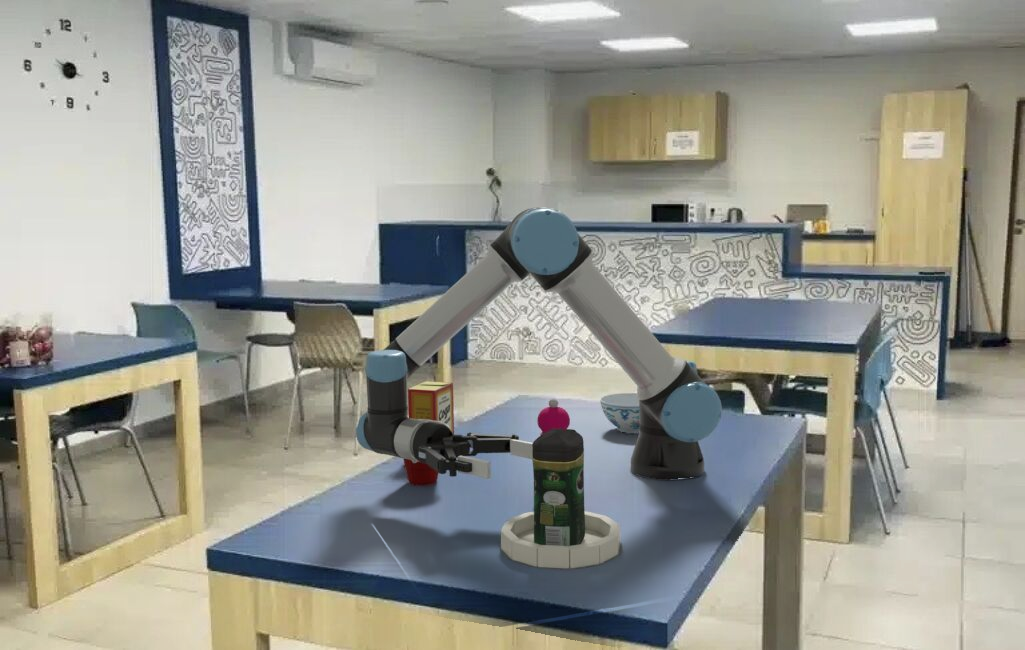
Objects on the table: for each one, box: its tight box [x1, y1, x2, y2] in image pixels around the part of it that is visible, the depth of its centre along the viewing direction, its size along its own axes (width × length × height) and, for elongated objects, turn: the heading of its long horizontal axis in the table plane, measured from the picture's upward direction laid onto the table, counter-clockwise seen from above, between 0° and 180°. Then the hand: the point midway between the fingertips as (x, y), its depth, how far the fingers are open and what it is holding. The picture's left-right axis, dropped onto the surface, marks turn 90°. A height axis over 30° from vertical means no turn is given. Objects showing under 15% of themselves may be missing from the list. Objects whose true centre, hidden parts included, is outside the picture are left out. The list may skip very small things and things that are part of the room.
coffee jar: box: [531, 428, 586, 546], centre depth 159 cm, size 10×8×19 cm
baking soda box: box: [407, 380, 455, 435], centre depth 218 cm, size 10×6×16 cm
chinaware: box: [599, 392, 639, 434], centre depth 238 cm, size 15×15×8 cm
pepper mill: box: [537, 398, 571, 436], centre depth 182 cm, size 7×7×20 cm
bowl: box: [500, 510, 621, 570], centre depth 160 cm, size 19×19×3 cm
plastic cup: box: [402, 419, 449, 487], centre depth 198 cm, size 11×11×12 cm
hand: (515, 461), depth 165 cm, fingers open, 13 cm apart
